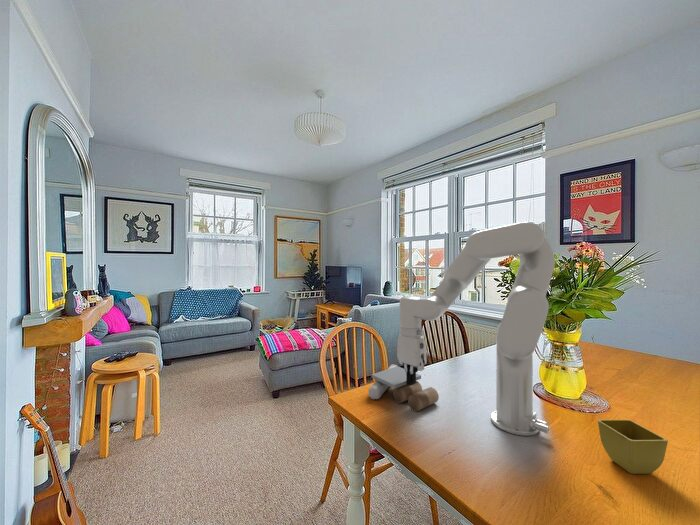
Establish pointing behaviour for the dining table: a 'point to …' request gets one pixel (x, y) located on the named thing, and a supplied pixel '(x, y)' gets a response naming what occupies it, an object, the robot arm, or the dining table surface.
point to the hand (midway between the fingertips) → (411, 383)
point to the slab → (393, 377)
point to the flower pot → (632, 445)
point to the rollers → (416, 395)
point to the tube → (378, 388)
